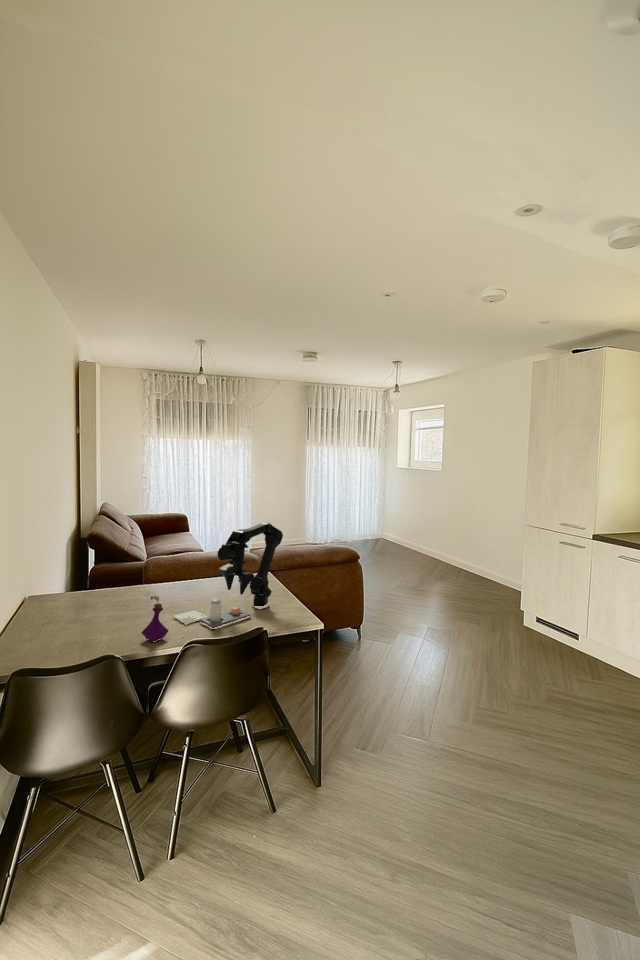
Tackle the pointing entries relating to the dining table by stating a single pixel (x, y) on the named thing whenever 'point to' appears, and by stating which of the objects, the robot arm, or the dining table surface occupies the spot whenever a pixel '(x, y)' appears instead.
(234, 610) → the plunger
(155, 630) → the perfume bottle
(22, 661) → the dining table surface
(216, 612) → the cylinder
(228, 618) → the dark grey base plate
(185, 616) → the sage pad
